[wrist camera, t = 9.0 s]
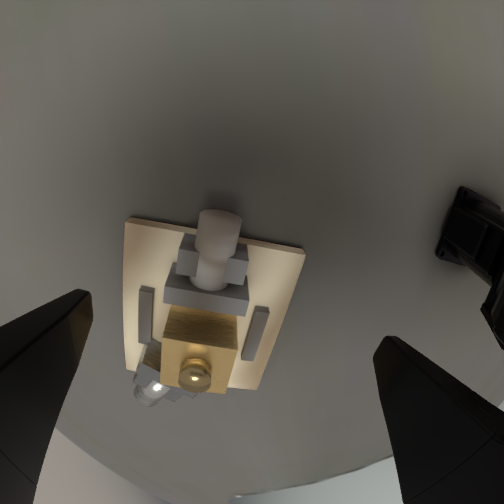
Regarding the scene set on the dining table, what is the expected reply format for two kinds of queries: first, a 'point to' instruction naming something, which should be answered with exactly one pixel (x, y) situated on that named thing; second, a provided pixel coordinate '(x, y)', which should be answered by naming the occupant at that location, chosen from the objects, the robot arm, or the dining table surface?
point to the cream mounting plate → (207, 285)
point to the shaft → (153, 378)
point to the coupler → (198, 350)
